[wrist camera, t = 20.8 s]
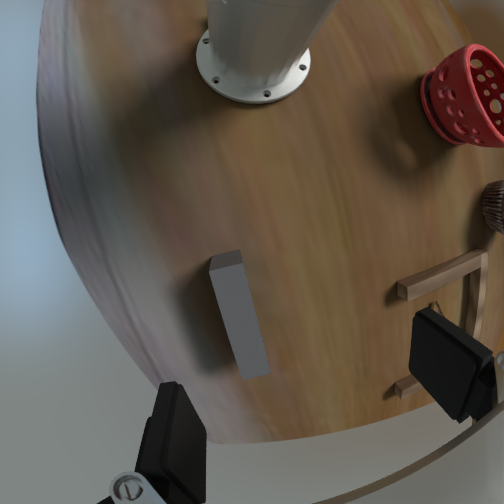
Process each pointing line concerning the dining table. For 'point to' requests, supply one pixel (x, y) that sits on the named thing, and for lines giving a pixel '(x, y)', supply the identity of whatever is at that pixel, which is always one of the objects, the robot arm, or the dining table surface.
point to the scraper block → (239, 313)
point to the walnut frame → (439, 277)
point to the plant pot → (465, 98)
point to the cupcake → (494, 205)
